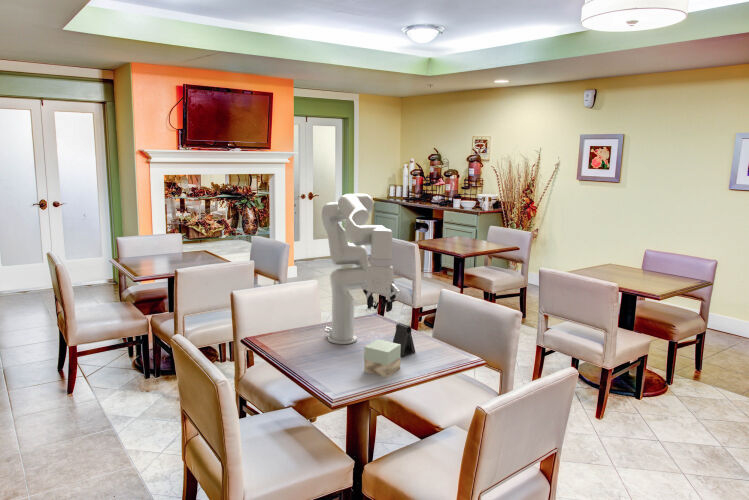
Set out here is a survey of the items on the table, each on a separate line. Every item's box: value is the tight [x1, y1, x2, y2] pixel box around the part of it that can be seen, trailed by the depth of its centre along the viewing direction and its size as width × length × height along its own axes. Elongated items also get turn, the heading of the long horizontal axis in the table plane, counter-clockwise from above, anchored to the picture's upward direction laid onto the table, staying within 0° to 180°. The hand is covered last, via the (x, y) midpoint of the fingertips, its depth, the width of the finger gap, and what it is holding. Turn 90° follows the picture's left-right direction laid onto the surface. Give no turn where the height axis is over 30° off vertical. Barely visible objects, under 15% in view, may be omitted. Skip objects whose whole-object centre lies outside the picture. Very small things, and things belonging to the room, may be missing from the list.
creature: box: [365, 299, 387, 316], centre depth 200 cm, size 8×5×8 cm
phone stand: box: [392, 322, 416, 358], centre depth 221 cm, size 9×6×12 cm, turn 133°
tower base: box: [363, 357, 402, 378], centre depth 204 cm, size 10×10×5 cm
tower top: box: [363, 338, 401, 365], centre depth 203 cm, size 10×10×5 cm
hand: (379, 309), depth 200 cm, fingers closed on creature, 7 cm apart
